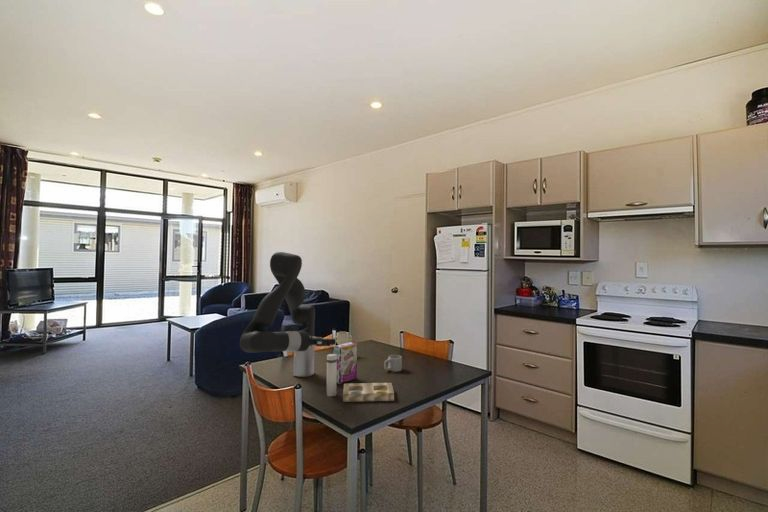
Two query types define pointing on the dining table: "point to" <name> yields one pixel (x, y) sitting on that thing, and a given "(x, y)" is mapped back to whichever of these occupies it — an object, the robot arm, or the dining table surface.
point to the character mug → (343, 337)
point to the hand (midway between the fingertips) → (328, 340)
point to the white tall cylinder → (331, 374)
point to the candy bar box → (346, 362)
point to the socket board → (368, 392)
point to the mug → (394, 363)
